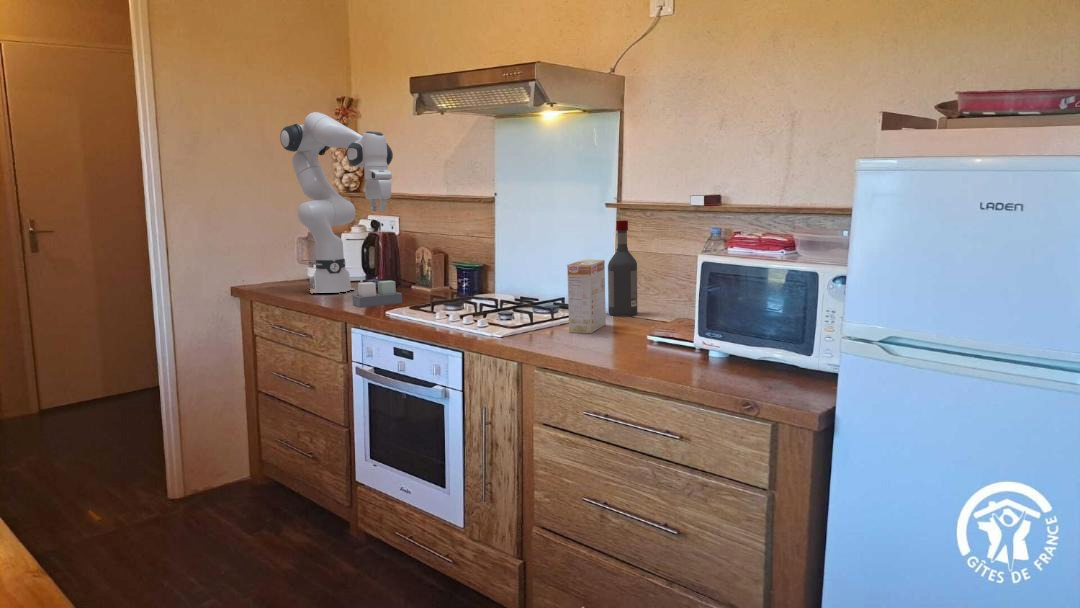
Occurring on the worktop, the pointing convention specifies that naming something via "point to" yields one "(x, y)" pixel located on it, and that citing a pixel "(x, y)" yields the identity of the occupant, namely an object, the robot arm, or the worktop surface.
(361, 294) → the ivory plug
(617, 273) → the liquor
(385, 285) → the sage plug
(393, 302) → the slot rack
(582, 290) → the coffeecake box
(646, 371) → the worktop surface
